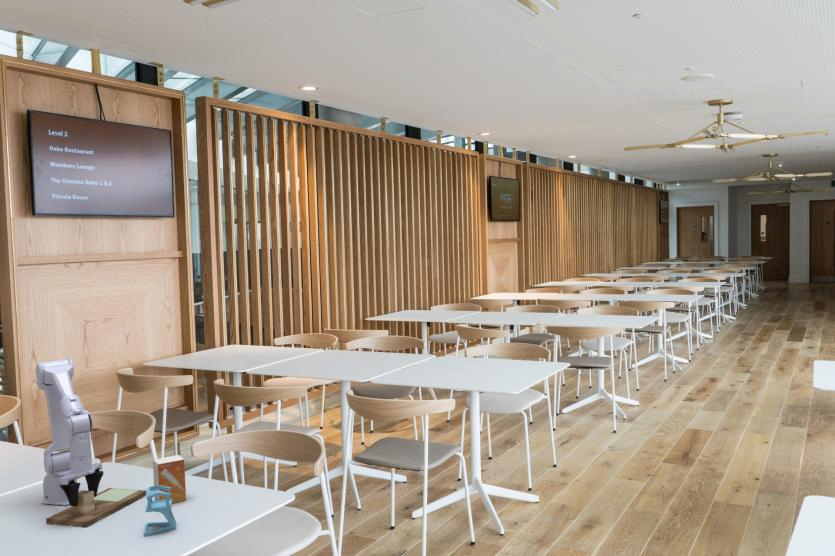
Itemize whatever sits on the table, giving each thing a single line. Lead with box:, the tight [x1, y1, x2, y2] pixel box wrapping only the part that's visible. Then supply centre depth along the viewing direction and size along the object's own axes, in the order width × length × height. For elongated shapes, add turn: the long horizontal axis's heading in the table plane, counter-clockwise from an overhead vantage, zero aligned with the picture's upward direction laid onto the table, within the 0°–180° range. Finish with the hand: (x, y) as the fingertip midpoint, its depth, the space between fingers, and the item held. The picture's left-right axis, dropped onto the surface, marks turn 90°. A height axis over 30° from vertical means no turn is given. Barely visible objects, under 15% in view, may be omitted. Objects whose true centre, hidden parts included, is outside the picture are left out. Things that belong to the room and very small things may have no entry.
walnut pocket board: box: [45, 487, 146, 528], centre depth 216 cm, size 14×26×2 cm, turn 164°
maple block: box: [73, 489, 95, 515], centre depth 210 cm, size 4×4×7 cm
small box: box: [152, 454, 187, 504], centre depth 220 cm, size 8×6×13 cm
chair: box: [143, 485, 177, 537], centre depth 198 cm, size 8×8×12 cm
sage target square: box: [94, 488, 140, 503], centre depth 223 cm, size 10×10×1 cm
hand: (83, 501), depth 210 cm, fingers open, 7 cm apart
